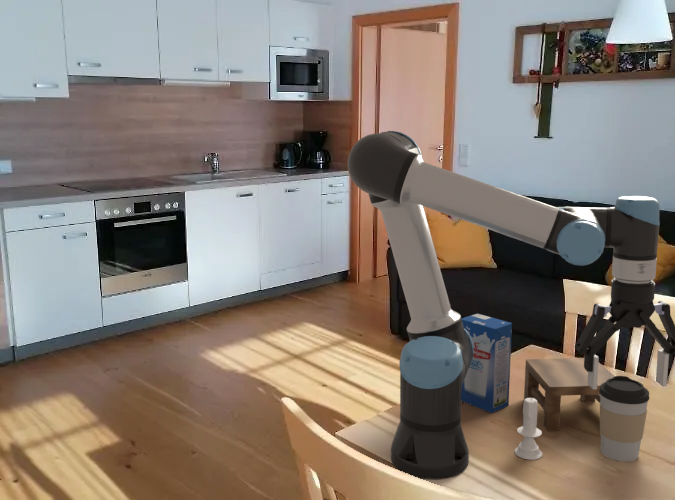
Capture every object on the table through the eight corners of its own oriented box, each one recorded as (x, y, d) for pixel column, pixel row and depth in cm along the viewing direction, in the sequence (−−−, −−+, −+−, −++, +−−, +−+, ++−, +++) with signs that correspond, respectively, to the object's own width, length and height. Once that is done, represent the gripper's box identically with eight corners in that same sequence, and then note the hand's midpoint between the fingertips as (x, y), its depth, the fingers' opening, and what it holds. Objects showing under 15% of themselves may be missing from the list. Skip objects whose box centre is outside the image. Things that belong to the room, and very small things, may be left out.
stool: (547, 431, 143) (549, 387, 141) (523, 399, 158) (525, 359, 156) (621, 428, 143) (624, 384, 141) (590, 397, 159) (593, 357, 157)
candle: (547, 453, 133) (550, 397, 131) (532, 463, 130) (535, 405, 127) (524, 444, 137) (526, 389, 135) (509, 453, 134) (511, 397, 131)
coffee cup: (649, 466, 128) (655, 393, 125) (599, 462, 130) (604, 390, 127) (638, 444, 137) (644, 374, 134) (591, 440, 138) (596, 371, 135)
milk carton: (457, 399, 159) (459, 318, 155) (474, 392, 163) (477, 313, 159) (492, 413, 151) (495, 328, 147) (508, 405, 155) (512, 323, 151)
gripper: (575, 286, 122) (570, 395, 126) (709, 281, 123) (700, 390, 127) (560, 276, 129) (556, 380, 133) (687, 272, 130) (679, 375, 134)
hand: (626, 385), depth 130 cm, fingers open, 13 cm apart
